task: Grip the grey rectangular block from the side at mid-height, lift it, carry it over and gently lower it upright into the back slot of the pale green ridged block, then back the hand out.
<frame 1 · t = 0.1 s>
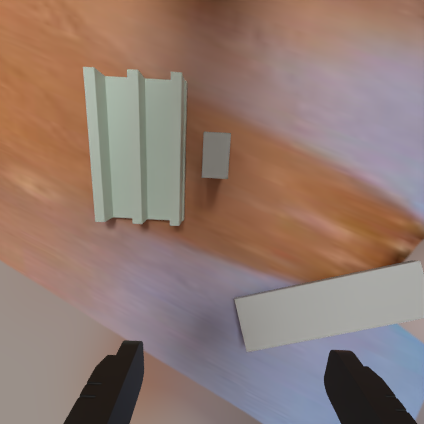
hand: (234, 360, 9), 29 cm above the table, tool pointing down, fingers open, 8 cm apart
grey rectangular block: (215, 157, 35), on the table
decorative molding: (321, 296, 42), on the table
pale green ridged block: (144, 154, 35), on the table
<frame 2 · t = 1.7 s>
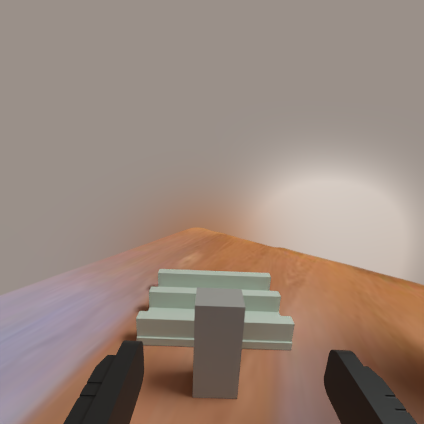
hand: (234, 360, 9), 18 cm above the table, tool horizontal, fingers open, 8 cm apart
grey rectangular block: (214, 384, 25), on the table
pale green ridged block: (213, 312, 37), on the table
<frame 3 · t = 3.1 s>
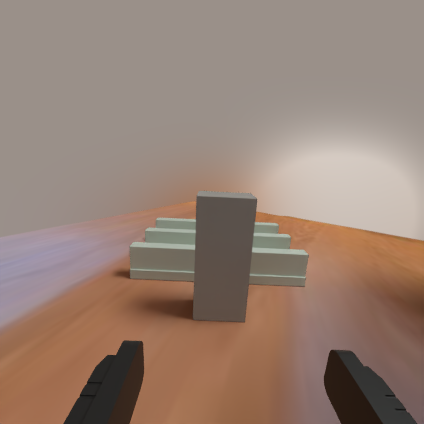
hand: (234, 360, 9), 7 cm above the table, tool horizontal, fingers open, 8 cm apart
grey rectangular block: (218, 310, 21), on the table
pale green ridged block: (216, 257, 33), on the table
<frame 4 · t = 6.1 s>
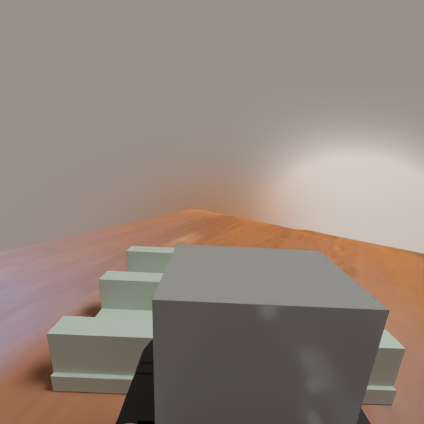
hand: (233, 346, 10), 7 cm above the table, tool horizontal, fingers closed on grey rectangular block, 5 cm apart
pale green ridged block: (219, 318, 20), on the table
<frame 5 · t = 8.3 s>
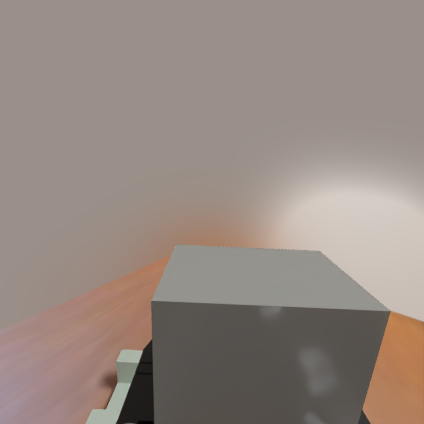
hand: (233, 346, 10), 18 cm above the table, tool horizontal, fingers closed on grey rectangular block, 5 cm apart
when the fingers open (9 cm above the table, at t = 11.2 s): grey rectangular block drops 1 cm, resting on pale green ridged block.
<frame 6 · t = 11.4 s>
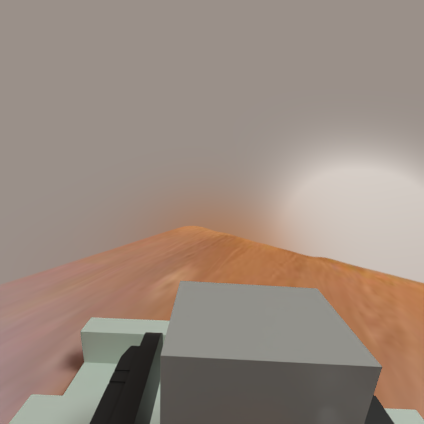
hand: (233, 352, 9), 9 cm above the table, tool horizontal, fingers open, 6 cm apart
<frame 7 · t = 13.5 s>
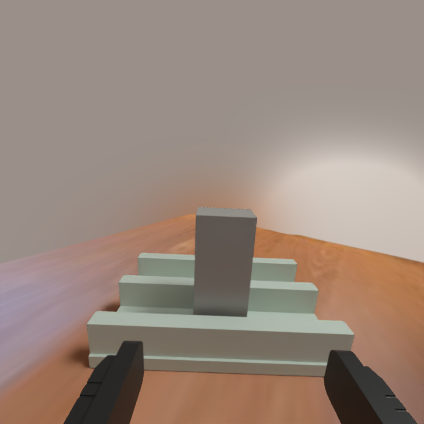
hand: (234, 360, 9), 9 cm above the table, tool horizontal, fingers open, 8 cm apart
grey rectangular block: (218, 325, 21), point 1 cm above the table, touching pale green ridged block
pale green ridged block: (216, 314, 25), on the table
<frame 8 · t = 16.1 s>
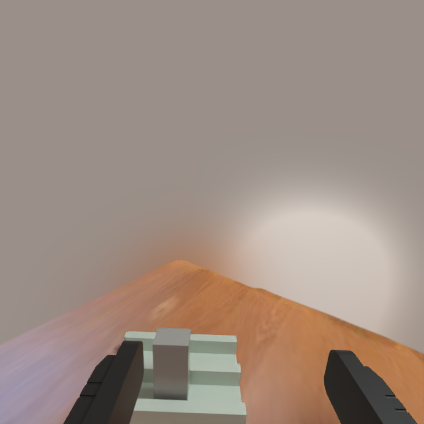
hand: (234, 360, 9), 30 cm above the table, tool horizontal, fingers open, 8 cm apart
grey rectangular block: (172, 398, 33), point 1 cm above the table, touching pale green ridged block
pale green ridged block: (175, 384, 37), on the table
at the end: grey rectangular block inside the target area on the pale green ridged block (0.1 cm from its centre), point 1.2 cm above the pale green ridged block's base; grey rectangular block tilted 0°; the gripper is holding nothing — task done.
